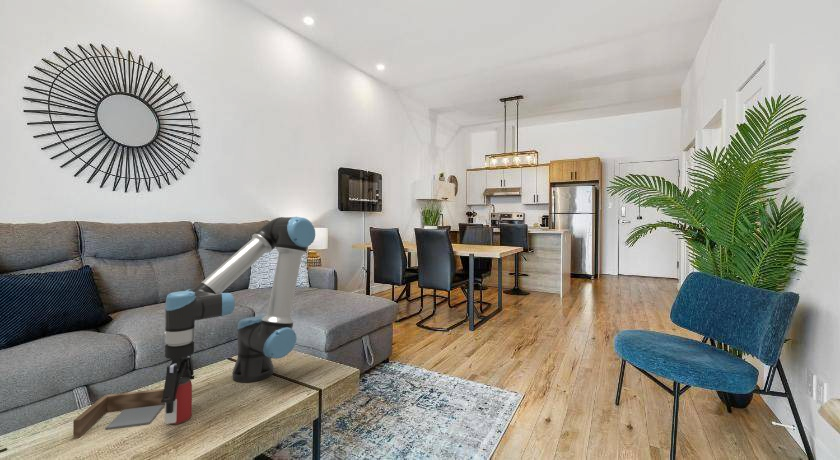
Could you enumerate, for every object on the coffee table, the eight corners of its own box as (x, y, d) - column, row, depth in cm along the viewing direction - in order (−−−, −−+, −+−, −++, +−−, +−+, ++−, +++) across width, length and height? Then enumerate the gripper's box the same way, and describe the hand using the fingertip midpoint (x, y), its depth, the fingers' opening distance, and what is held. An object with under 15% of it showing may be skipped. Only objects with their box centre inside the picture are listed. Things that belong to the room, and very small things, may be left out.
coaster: (163, 406, 118) (163, 404, 118) (149, 424, 107) (149, 422, 107) (123, 411, 114) (123, 409, 114) (105, 429, 104) (105, 427, 104)
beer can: (179, 426, 106) (179, 386, 106) (160, 423, 107) (160, 384, 107) (197, 415, 113) (197, 377, 112) (179, 412, 114) (179, 375, 114)
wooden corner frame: (178, 401, 121) (178, 387, 121) (160, 426, 106) (160, 409, 106) (104, 410, 115) (104, 395, 115) (73, 438, 100) (73, 420, 100)
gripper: (179, 332, 121) (178, 394, 121) (148, 357, 97) (146, 435, 97) (204, 330, 123) (203, 392, 123) (180, 355, 99) (178, 431, 99)
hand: (178, 411), depth 110 cm, fingers open, 13 cm apart
